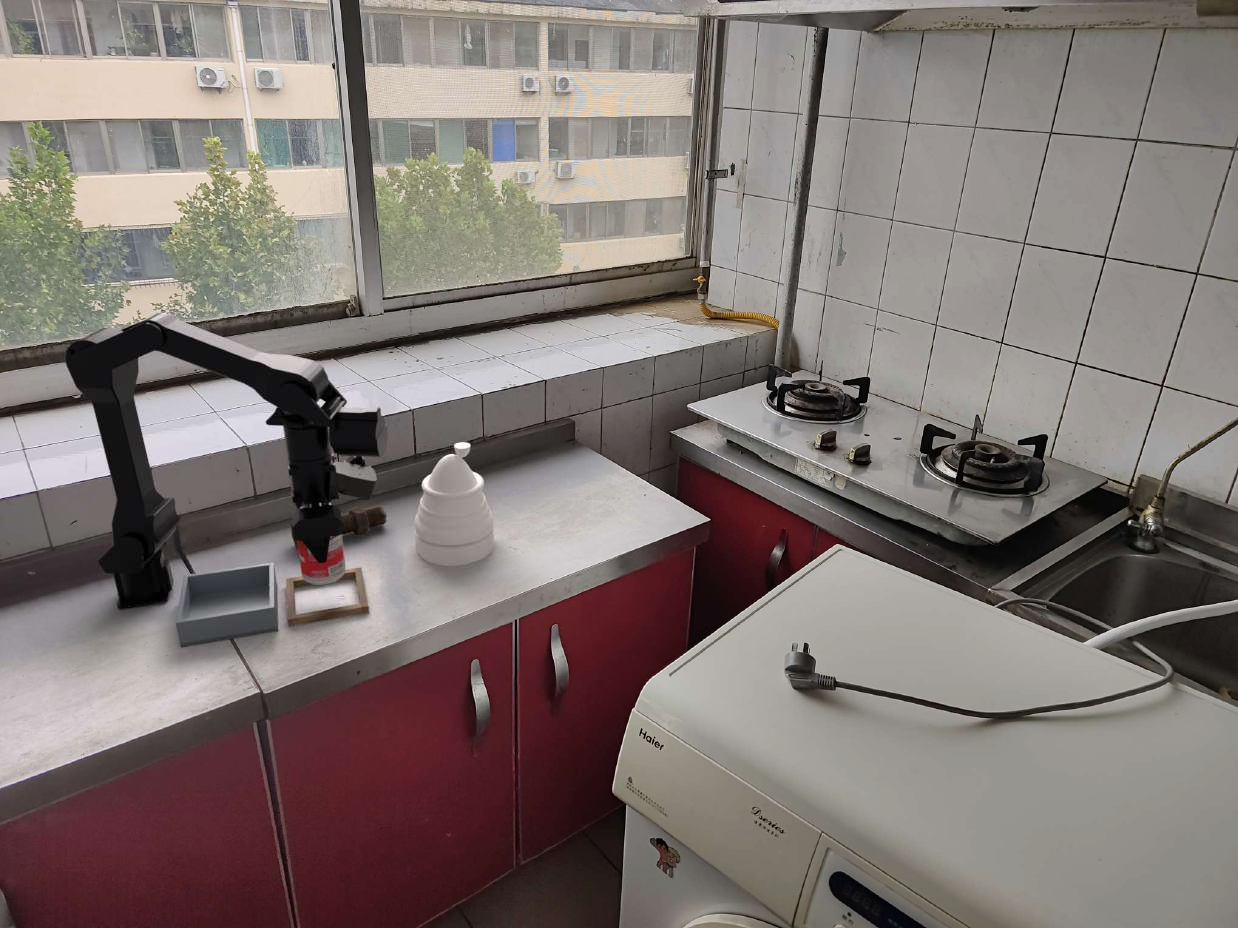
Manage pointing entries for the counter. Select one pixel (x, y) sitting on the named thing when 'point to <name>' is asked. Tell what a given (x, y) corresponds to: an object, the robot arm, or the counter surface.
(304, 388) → the robot arm
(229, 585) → the bin
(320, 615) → the wooden frame
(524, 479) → the counter surface
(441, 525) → the honey pot
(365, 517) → the bolt
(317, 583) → the pill bottle
